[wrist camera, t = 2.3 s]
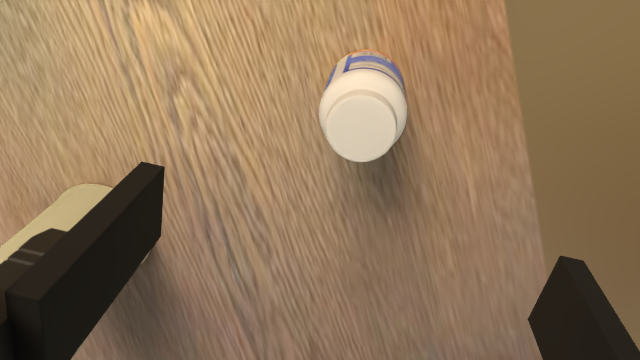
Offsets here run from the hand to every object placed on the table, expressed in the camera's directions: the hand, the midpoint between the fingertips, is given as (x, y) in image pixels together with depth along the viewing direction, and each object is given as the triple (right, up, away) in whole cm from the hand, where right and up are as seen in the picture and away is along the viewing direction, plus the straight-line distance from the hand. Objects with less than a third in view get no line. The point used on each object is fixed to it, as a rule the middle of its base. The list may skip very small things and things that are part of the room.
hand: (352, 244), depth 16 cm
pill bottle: (+2, +9, +20) cm, 22 cm away
